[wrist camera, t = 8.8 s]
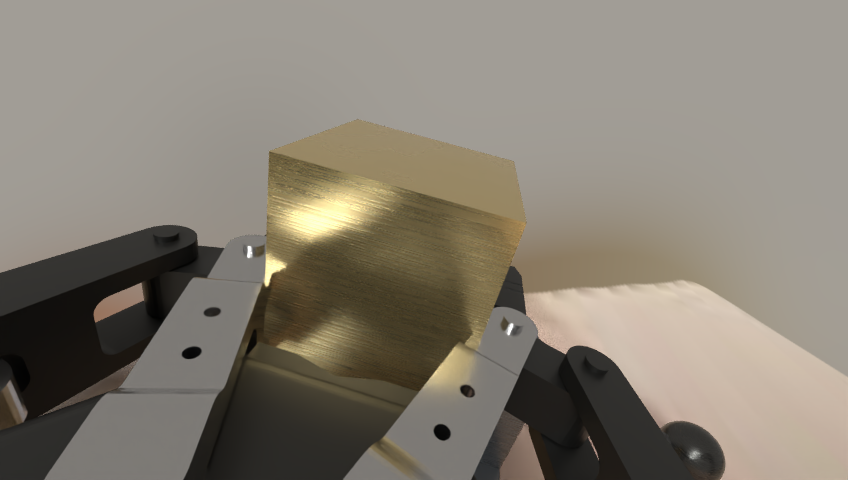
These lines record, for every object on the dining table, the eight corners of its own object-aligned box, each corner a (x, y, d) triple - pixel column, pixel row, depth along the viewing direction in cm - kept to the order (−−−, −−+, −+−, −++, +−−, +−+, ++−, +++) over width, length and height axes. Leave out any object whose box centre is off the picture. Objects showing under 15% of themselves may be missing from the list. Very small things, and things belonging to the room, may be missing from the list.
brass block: (412, 456, 18) (513, 161, 11) (384, 586, 13) (526, 222, 7) (315, 425, 18) (357, 119, 11) (257, 542, 14) (268, 150, 7)
